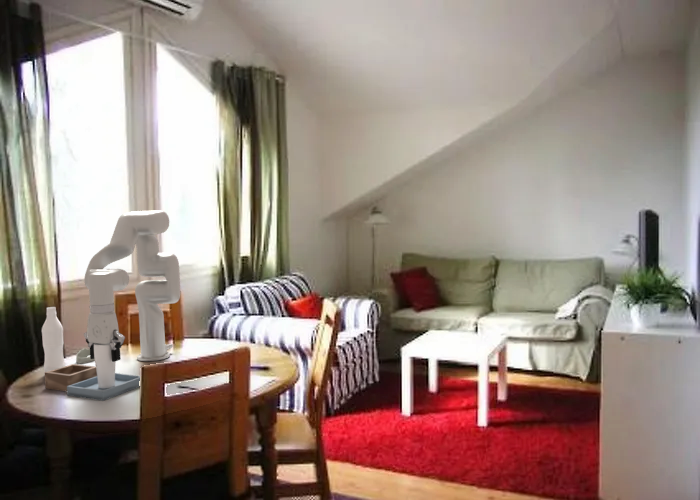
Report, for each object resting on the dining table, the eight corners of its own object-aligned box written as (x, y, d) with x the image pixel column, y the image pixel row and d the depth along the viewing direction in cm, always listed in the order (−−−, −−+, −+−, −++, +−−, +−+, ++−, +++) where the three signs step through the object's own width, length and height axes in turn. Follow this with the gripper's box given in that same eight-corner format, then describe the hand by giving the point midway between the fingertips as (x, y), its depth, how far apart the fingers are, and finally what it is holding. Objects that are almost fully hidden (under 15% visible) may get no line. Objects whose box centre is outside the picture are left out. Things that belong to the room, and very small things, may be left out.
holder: (74, 378, 222) (73, 363, 221) (98, 382, 217) (97, 366, 216) (45, 388, 211) (44, 372, 211) (70, 391, 206) (69, 375, 206)
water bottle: (70, 372, 231) (66, 306, 229) (55, 377, 224) (51, 309, 222) (55, 371, 233) (51, 305, 231) (39, 376, 226) (35, 309, 225)
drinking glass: (99, 384, 210) (97, 341, 209) (120, 383, 211) (117, 340, 210) (93, 390, 204) (90, 345, 202) (114, 389, 204) (111, 344, 203)
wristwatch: (90, 357, 254) (90, 345, 253) (102, 358, 251) (101, 346, 251) (72, 363, 246) (71, 350, 245) (83, 364, 243) (83, 352, 242)
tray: (109, 380, 219) (109, 372, 219) (144, 384, 212) (143, 376, 212) (67, 395, 202) (66, 386, 202) (103, 400, 196) (103, 391, 196)
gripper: (74, 309, 205) (77, 360, 207) (113, 312, 198) (116, 364, 200) (92, 305, 212) (95, 354, 214) (130, 308, 205) (133, 358, 207)
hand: (105, 359), depth 207 cm, fingers open, 9 cm apart
